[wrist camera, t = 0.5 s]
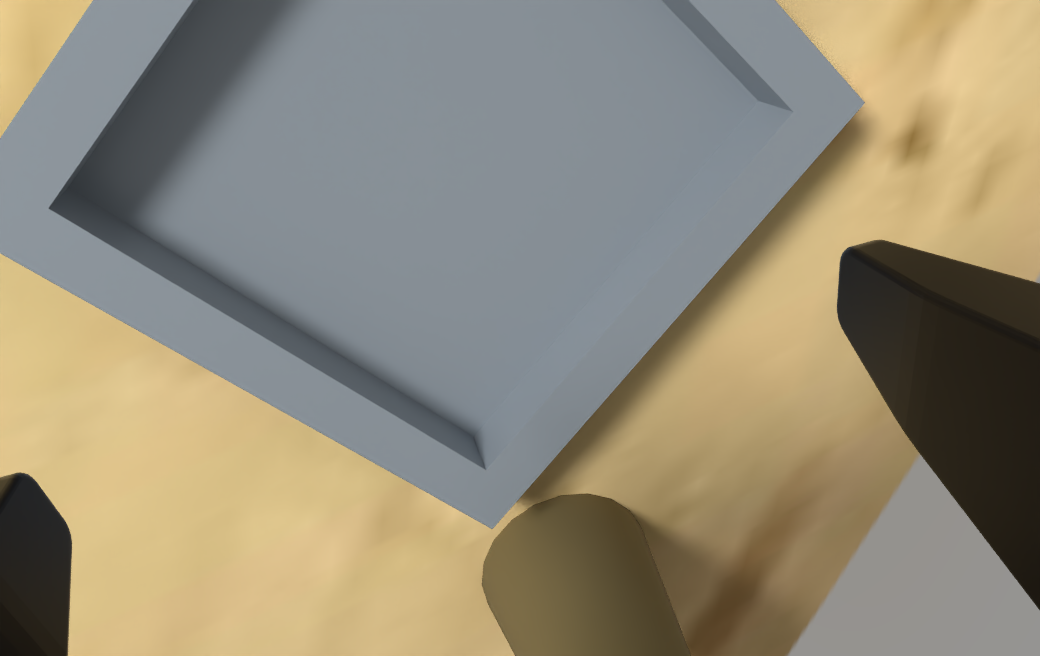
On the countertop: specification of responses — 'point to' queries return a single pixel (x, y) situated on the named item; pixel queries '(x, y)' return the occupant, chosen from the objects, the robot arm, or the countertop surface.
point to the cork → (579, 583)
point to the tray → (414, 201)
